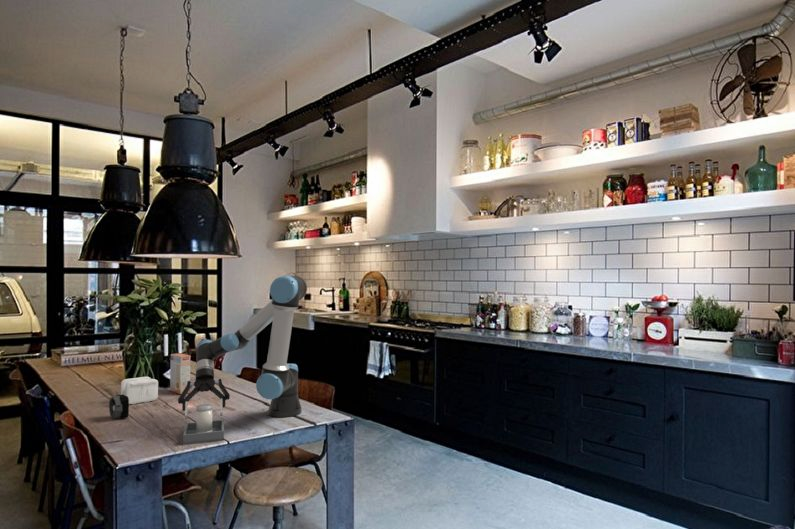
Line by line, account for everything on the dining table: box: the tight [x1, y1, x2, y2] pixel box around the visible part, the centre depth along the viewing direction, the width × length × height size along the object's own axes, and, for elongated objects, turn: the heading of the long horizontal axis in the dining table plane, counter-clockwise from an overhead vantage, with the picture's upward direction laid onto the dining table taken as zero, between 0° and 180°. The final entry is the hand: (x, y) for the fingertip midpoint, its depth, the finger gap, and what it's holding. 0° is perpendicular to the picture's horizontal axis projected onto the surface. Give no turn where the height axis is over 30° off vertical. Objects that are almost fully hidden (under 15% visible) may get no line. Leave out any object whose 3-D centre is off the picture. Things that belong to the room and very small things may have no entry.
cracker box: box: [169, 352, 192, 395], centre depth 274 cm, size 14×6×21 cm, turn 46°
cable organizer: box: [120, 376, 159, 405], centre depth 253 cm, size 15×11×12 cm
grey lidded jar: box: [195, 403, 213, 433], centre depth 197 cm, size 6×6×11 cm
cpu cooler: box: [108, 394, 130, 420], centre depth 223 cm, size 10×6×10 cm, turn 46°
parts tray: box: [182, 419, 225, 445], centre depth 197 cm, size 15×17×4 cm
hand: (203, 415), depth 202 cm, fingers open, 13 cm apart
